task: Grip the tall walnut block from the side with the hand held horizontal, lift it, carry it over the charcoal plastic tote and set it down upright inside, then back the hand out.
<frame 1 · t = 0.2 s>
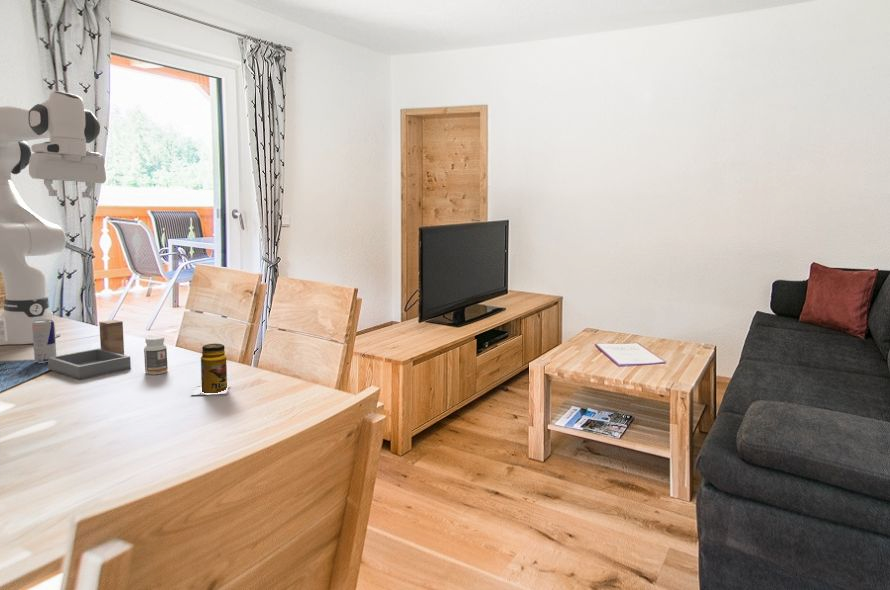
hand: (69, 197, 176), 48 cm above the table, tool pointing down, fingers open, 8 cm apart
energy drink: (45, 362, 174), on the table
condiment: (211, 392, 151), on the table
walnut block: (112, 357, 180), on the table
pill bottle: (156, 373, 166), on the table
tote: (90, 369, 167), on the table
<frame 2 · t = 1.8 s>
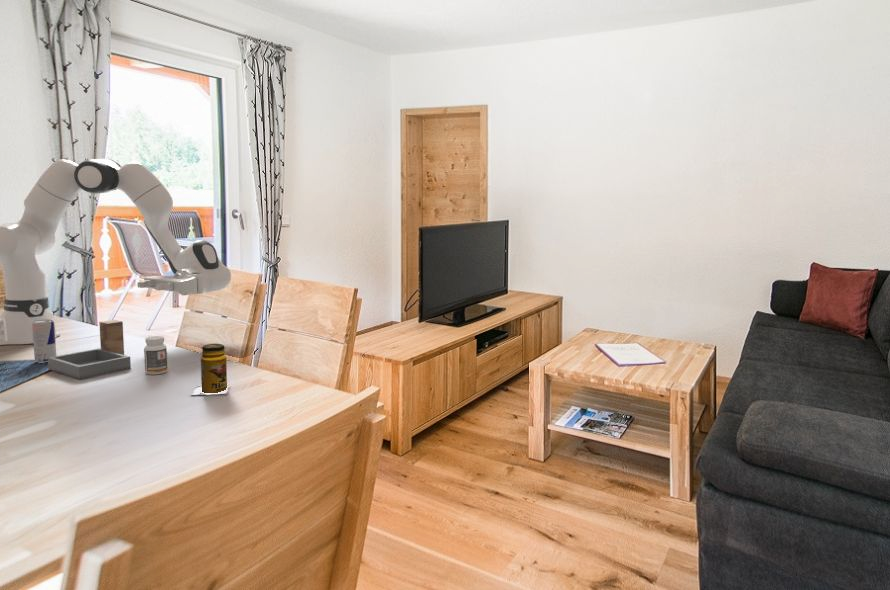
hand: (147, 286, 187), 21 cm above the table, tool horizontal, fingers open, 8 cm apart
nothing on the table moved.
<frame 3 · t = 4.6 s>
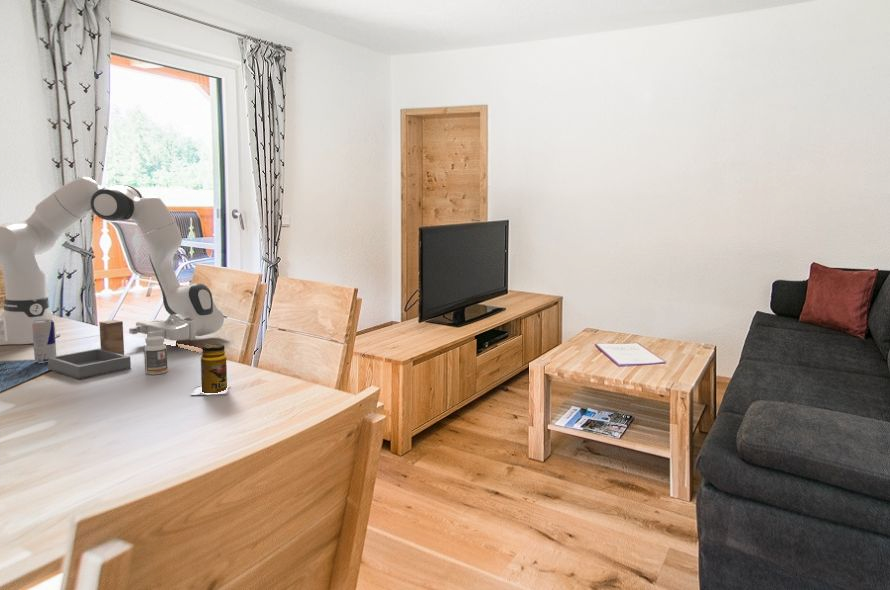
hand: (139, 333, 187), 6 cm above the table, tool horizontal, fingers open, 8 cm apart
nothing on the table moved.
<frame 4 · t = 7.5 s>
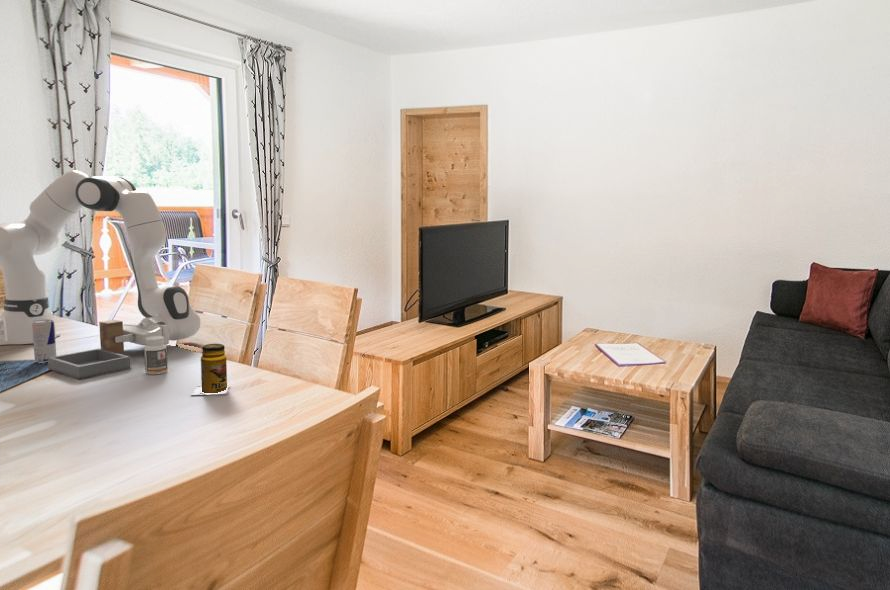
hand: (108, 338, 179), 6 cm above the table, tool horizontal, fingers closed on walnut block, 4 cm apart
walnut block: (112, 357, 180), on the table, touching gripper
everything else where it was.
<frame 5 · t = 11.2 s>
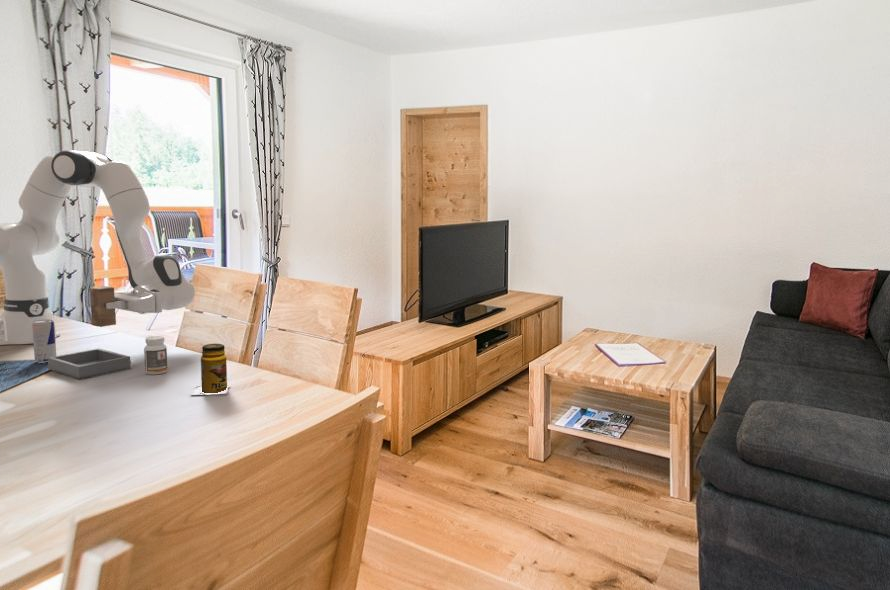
hand: (99, 304, 173), 17 cm above the table, tool horizontal, fingers closed on walnut block, 4 cm apart
walnut block: (104, 324, 174), point 11 cm above the table, touching gripper
everything else where it was.
when the fingers open (8 cm above the table, at t = 15.4 s): walnut block drops 1 cm, resting on tote.
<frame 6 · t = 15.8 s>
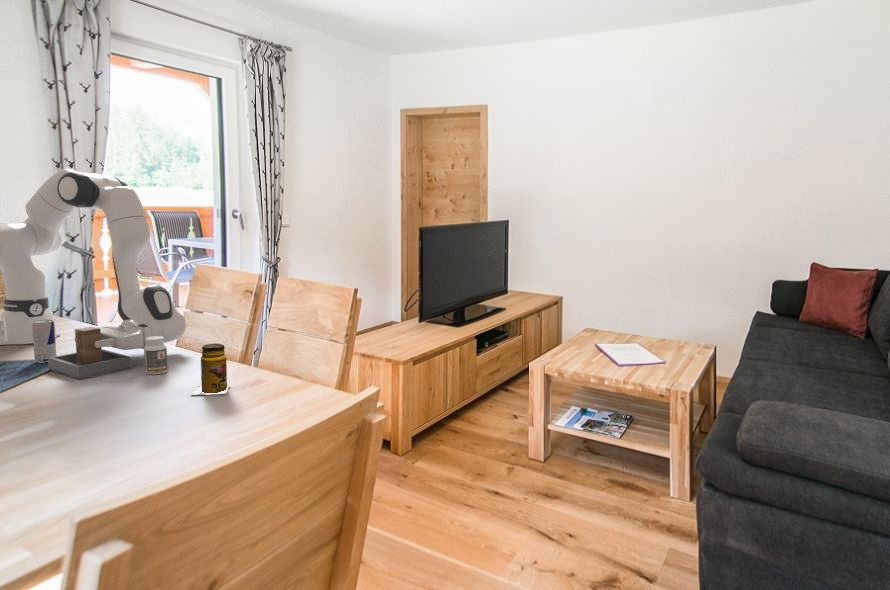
hand: (85, 342, 165), 8 cm above the table, tool horizontal, fingers open, 8 cm apart
walnut block: (89, 367, 167), point 1 cm above the table, touching tote
everything else where it was.
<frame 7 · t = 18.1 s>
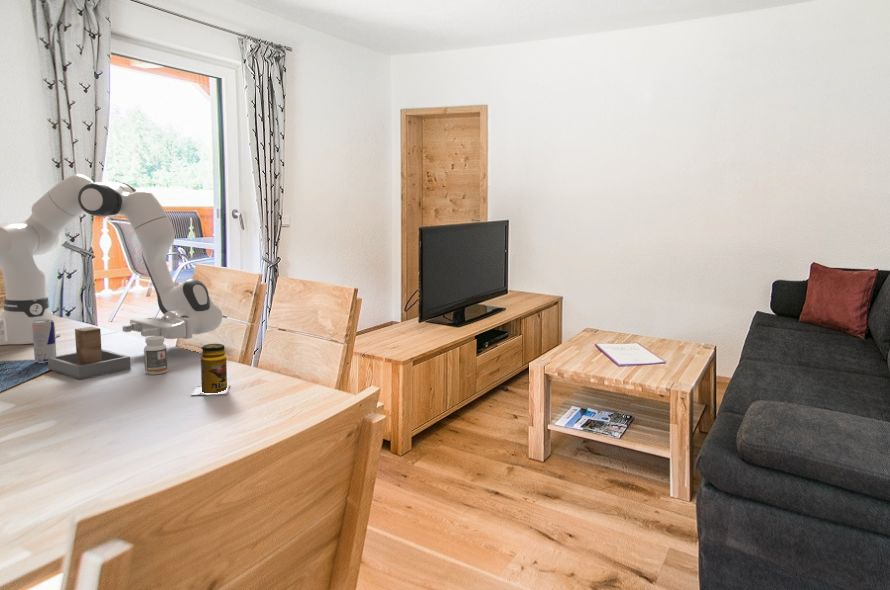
hand: (132, 331, 177), 9 cm above the table, tool horizontal, fingers open, 8 cm apart
nothing on the table moved.
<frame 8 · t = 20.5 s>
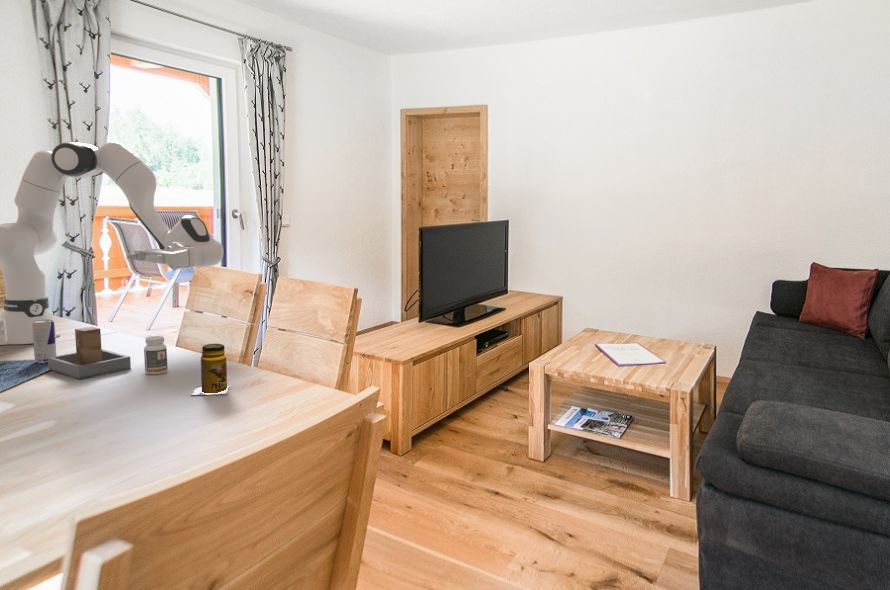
hand: (136, 258, 181), 30 cm above the table, tool horizontal, fingers open, 8 cm apart
nothing on the table moved.
at the end: walnut block inside the target area on the tote (0.1 cm from its centre), point 0.6 cm above the tote's base; walnut block tilted 0°; the gripper is holding nothing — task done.
